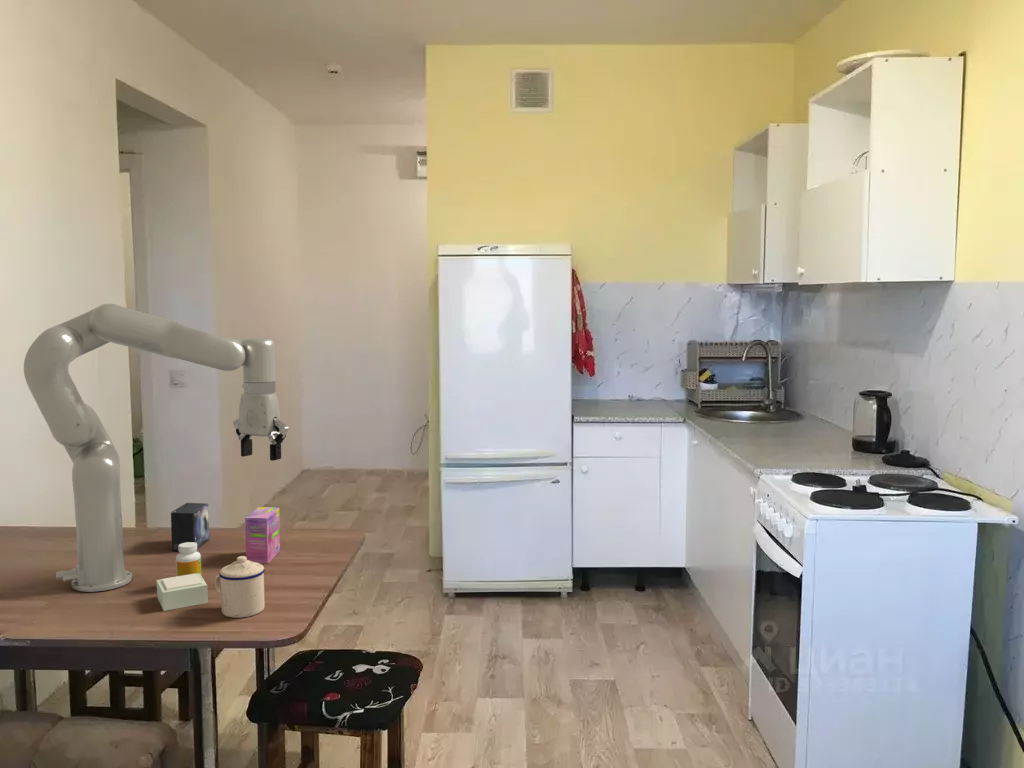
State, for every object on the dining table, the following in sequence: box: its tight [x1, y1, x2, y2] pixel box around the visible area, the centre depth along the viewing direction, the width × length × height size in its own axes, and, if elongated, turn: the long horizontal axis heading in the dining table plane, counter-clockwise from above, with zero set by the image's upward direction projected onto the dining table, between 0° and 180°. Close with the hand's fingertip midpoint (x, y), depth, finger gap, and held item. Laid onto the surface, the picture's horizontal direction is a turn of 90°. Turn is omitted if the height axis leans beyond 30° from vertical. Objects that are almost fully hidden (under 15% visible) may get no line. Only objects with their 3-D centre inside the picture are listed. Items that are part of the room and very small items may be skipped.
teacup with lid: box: [214, 555, 266, 619], centre depth 176 cm, size 12×9×12 cm
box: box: [244, 506, 281, 565], centre depth 210 cm, size 10×6×12 cm, turn 179°
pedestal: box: [156, 573, 209, 612], centre depth 181 cm, size 9×9×4 cm
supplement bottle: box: [175, 542, 203, 577], centre depth 190 cm, size 5×5×10 cm
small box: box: [170, 502, 210, 552], centre depth 220 cm, size 11×6×10 cm, turn 179°
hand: (261, 457), depth 205 cm, fingers open, 9 cm apart
